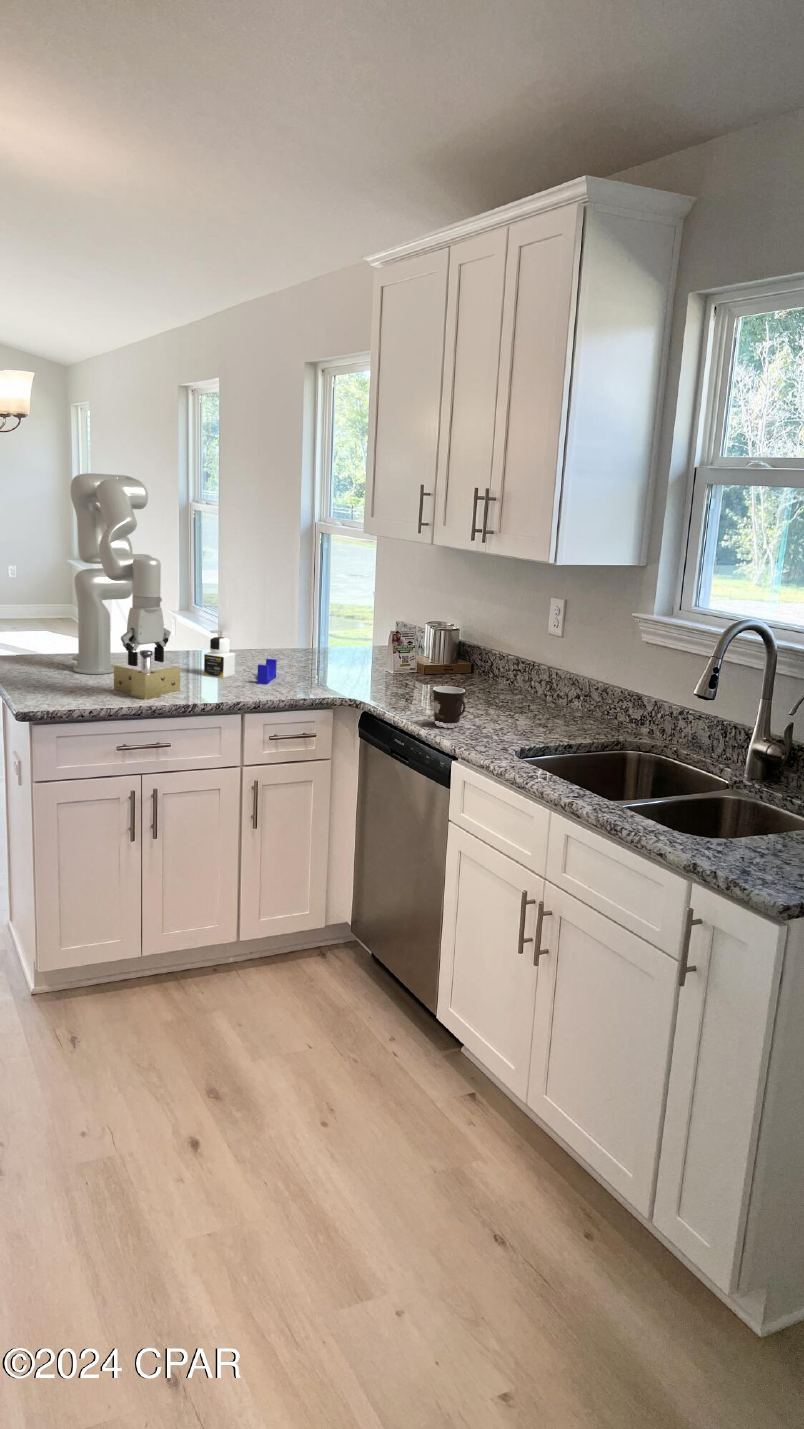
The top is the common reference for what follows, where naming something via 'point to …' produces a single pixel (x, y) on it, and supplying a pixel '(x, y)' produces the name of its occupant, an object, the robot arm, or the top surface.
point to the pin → (146, 661)
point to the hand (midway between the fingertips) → (146, 663)
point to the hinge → (146, 681)
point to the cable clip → (267, 672)
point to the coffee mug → (448, 704)
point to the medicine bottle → (219, 659)
